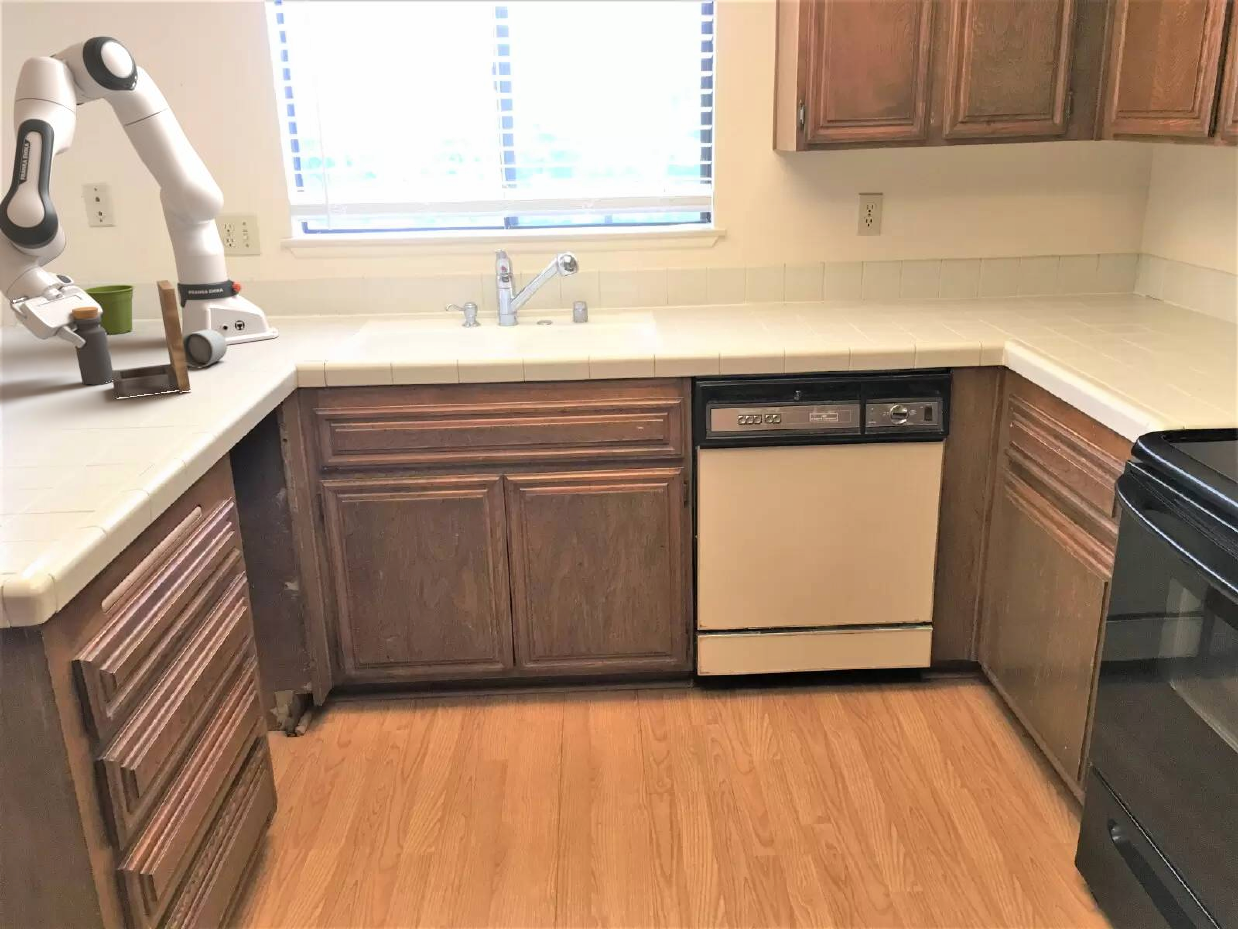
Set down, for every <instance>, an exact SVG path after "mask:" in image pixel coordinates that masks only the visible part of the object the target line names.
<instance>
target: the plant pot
mask: <svg viewBox="0 0 1238 929" xmlns="http://www.w3.org/2000/svg"><path fill="white" fill-rule="evenodd" d="M134 289H135V286H134V285H131V284H112V285H111V284H109V285H101V286H93V287H89V288H85V289H82V290H83V291H84V292H86V293H87V294H88V295H89V296H90V297H91V298H92V299H94V300H95V301H96V302H97V303H98V304H99V305H100V306H101V308H102V310H103V313H102V314H101V315H100V317H101V322H99V326H100V327H102V328H104V329H105V332H106V334H109V335H119V334H122V333H123V334H125V333H127V332H132V331H133V297H134V296H133V294H134Z"/></svg>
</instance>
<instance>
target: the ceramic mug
mask: <svg viewBox="0 0 1238 929" xmlns="http://www.w3.org/2000/svg"><path fill="white" fill-rule="evenodd" d="M182 339H183V346H184V352H185V358H186V364H187V366H190V367H191V368H193V367H204V368H206V367H209V366H210V365H212V364H215V363H217V362H218V361H220V360H222V359H223V358H224V357H225V355H226V353H227V351H228V345H227V343H226V340H225V338H224V337H223V336H222V335H221V334H220V333H219V332H217V331H214V330H201V331H197V332H192V333H189V334H187V335H185V336H184V337H183V338H182Z"/></svg>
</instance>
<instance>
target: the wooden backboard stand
mask: <svg viewBox="0 0 1238 929" xmlns="http://www.w3.org/2000/svg"><path fill="white" fill-rule="evenodd" d="M156 285H157V291H158V297H159V298H158V299H159V302H160V303H159V304H160V309H161V314H162V320H163V327H164V328H163V329H164V333H165V339H166V344H167V351H168V352H167V353H168V358H169V363H168V364H159V365H151V366H139V367H131V368H130V367H129V368H123V369H122V368H121V369H115V370H114V369H113V370H112V371H111V374H112V380H113V381H112V385H113V390H114V394H116V395H115V399H116V398H119V397H130V396H137V395H144V394H155V393H161V392H167V391H175V390H179V392H182V391H189V390H192V389H191V383H190V377H189V372H188V367H187V366H188V365H187V364H186V358H185V352H184V346H183V339H182V328H181V327H182V326H181V322H180V316H179V309H178V303H177V298H176V291H175V287H173V285H172V284H171V283H170V282H169V280H168V279H164V280H156ZM179 392H178V393H179Z"/></svg>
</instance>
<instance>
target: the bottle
mask: <svg viewBox="0 0 1238 929" xmlns="http://www.w3.org/2000/svg"><path fill="white" fill-rule="evenodd" d="M72 312H73V315H74V317H75V319H73V321H74V322H73V324H76V325H77V329H74V331H73V332H74V333H75V334H77V335H79V336H80V335H82V336H83V337H84V338H85V339H87V341H88V342H87V344H86V345H85V346H84V347H81V348H78V347H77V346H76V345H74V346H75V352H76V357H77V361H78V367H79V368H78V369H79V372H80V377H81V382H82V384H83V385H84V384H101V385H104V384H103V383H106V382H109V381H112V374H111V371H112V370H114V369H113V364H112V359H111V354H110V350H109V349H110V348H109V343H108V338H107V335H106V332H105V329H104V328H102V327H100V326H99V322H101V317H100V316H98V308H97V307H82V308H76V309H72ZM112 382H113V381H112ZM106 384H107V383H106Z"/></svg>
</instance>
